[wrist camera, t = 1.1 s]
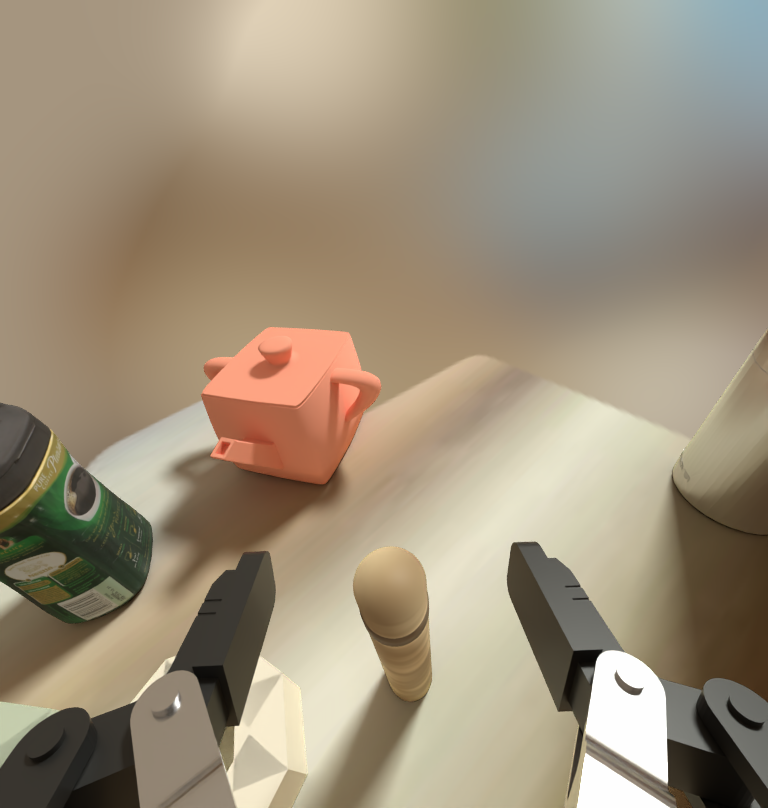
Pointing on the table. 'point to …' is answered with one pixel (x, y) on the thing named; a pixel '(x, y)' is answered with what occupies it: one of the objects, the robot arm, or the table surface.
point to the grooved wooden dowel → (397, 617)
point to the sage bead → (18, 724)
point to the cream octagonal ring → (265, 740)
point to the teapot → (288, 402)
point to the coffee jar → (64, 527)
